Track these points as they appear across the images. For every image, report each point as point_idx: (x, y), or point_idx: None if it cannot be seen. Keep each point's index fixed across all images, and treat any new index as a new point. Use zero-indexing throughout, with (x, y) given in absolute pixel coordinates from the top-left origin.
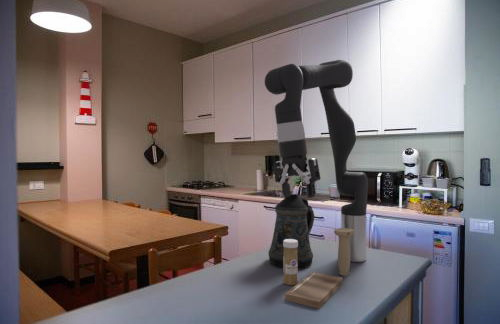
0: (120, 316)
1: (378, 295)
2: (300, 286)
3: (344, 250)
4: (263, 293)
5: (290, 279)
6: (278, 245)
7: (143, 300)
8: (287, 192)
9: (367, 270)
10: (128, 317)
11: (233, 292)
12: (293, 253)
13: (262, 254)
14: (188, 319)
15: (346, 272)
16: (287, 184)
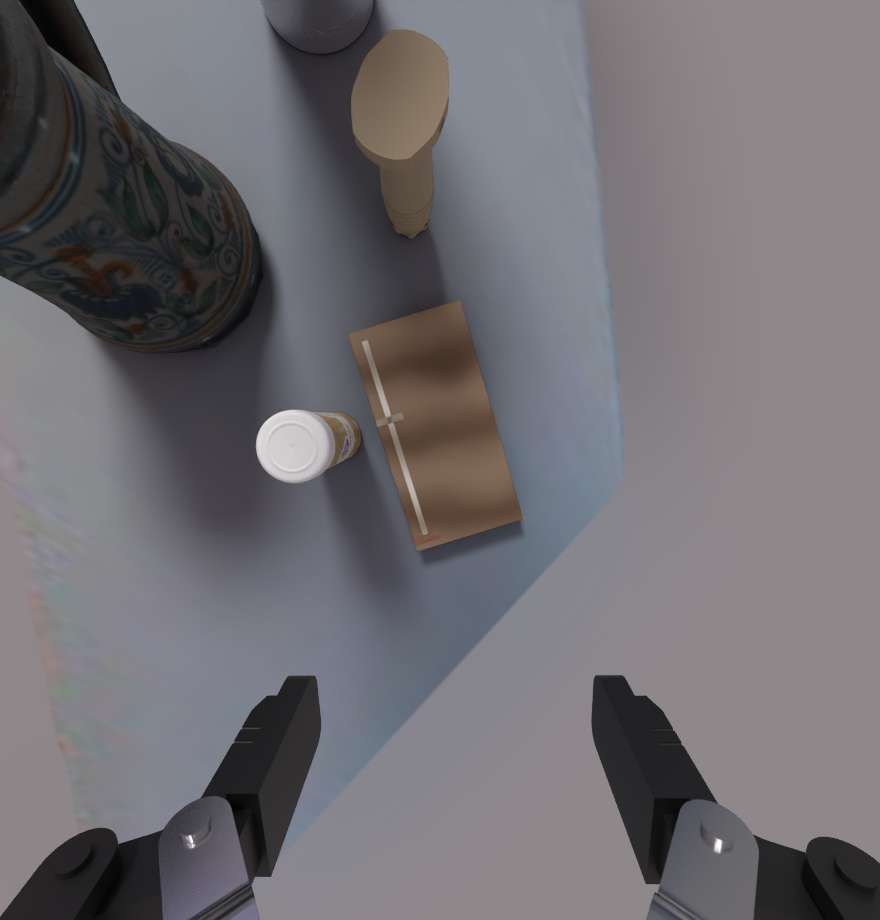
0: None
1: (587, 305)
2: (412, 475)
3: (422, 187)
4: (341, 560)
5: (349, 455)
6: (122, 324)
7: None
8: (304, 744)
9: None
10: None
11: (275, 622)
12: (335, 454)
13: None
14: (337, 795)
15: (427, 224)
16: (266, 817)
